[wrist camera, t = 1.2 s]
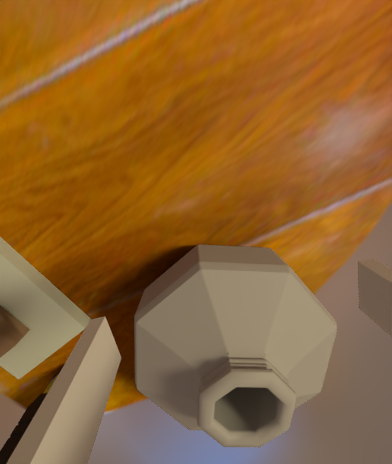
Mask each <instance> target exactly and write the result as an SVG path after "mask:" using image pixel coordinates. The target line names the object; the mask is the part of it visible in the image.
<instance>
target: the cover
mask: <svg viewBox="0 0 392 464" xmlns="http://www.w3.org/2000/svg"><path fill="white" fill-rule="evenodd" d="M29 330H30V329H29V328H27V327H26V326H25V325H24V324H22V323H21V322H20V321H19V320H18V319H16V318H15V317H14V316H13V315H12V314H10V313H9V312H8V311H7V310H5V309H4V308H3V307H2V306H1V305H0V358H1V357H2V356H3V355H4V354H6V353H7V352H8V351H9V350H11V349H12V348H13V347H14V346H16V344H17V343H18V342H19V341H20V340H21V339H22V338H23V337H24V336H25V335H26V334H27V332H28V331H29Z"/></svg>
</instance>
